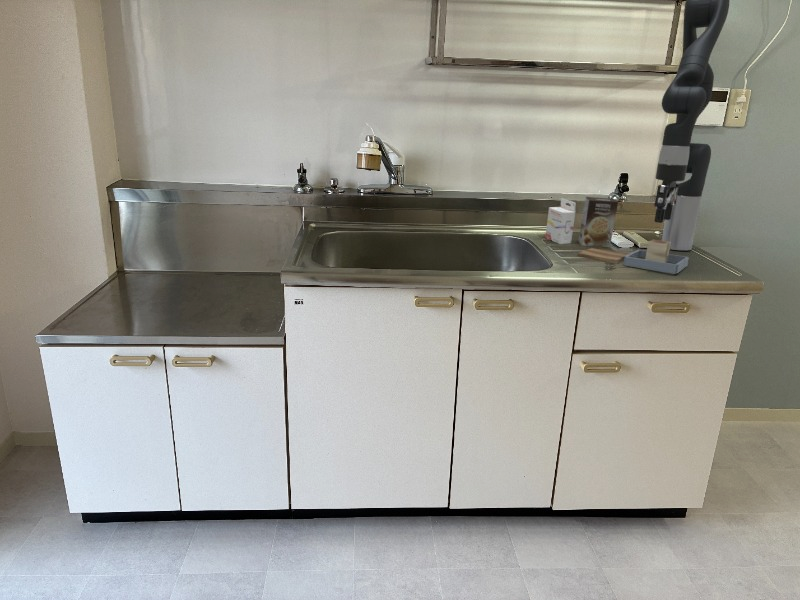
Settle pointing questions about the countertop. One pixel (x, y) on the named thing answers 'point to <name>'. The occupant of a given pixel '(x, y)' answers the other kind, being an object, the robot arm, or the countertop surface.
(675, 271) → the bin
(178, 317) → the countertop surface
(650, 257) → the block
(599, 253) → the board
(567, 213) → the ink cartridge box
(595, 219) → the coffee box
